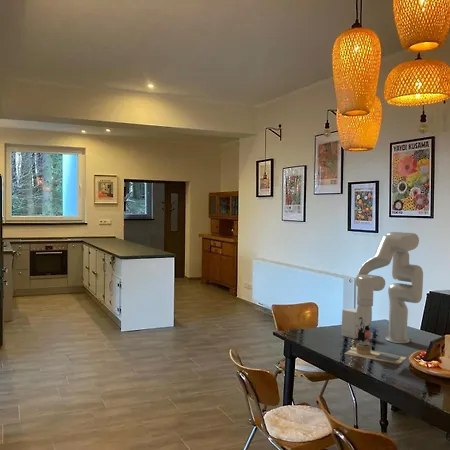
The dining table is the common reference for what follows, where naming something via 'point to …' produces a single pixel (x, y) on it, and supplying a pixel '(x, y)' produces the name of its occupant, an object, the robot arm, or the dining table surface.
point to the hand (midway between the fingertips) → (363, 338)
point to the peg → (367, 335)
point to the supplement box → (349, 323)
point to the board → (375, 354)
